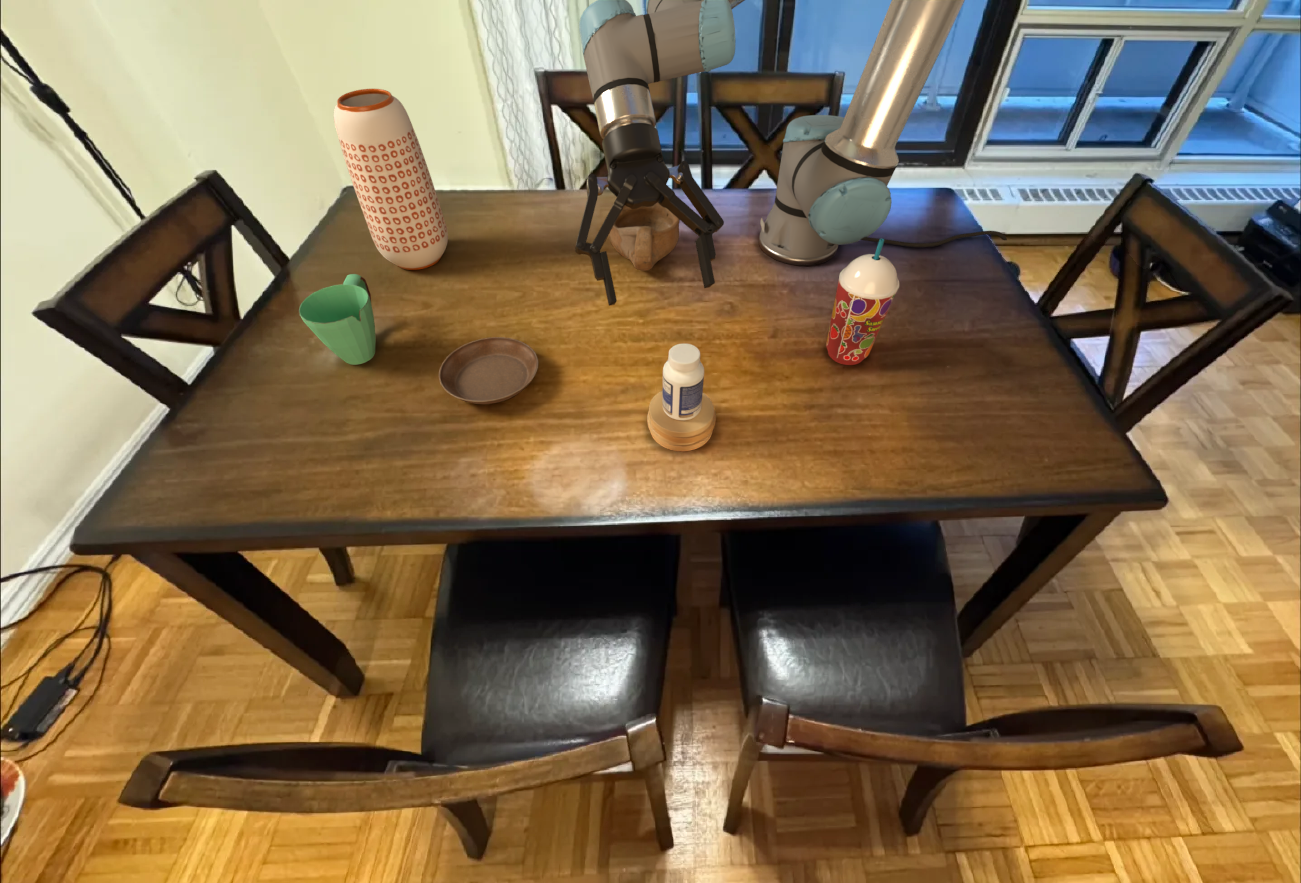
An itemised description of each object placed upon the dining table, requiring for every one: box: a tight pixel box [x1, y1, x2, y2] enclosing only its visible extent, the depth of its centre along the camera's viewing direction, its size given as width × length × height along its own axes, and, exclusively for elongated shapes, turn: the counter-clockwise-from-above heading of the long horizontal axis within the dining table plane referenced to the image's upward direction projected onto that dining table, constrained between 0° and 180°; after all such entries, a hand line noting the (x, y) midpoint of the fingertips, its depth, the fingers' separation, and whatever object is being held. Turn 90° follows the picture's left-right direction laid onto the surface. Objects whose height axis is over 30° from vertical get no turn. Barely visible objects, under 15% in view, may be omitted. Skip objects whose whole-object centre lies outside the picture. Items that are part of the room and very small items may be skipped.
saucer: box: [438, 336, 539, 405], centre depth 89 cm, size 15×15×3 cm
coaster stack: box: [646, 389, 717, 452], centre depth 82 cm, size 10×10×4 cm
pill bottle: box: [662, 343, 705, 420], centre depth 77 cm, size 5×5×10 cm
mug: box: [298, 273, 377, 366], centre depth 92 cm, size 15×10×10 cm
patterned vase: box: [333, 88, 449, 271], centre depth 103 cm, size 13×13×28 cm
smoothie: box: [825, 238, 900, 366], centre depth 86 cm, size 8×8×20 cm
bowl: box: [608, 202, 681, 271], centre depth 110 cm, size 18×14×10 cm
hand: (661, 294), depth 79 cm, fingers open, 13 cm apart
